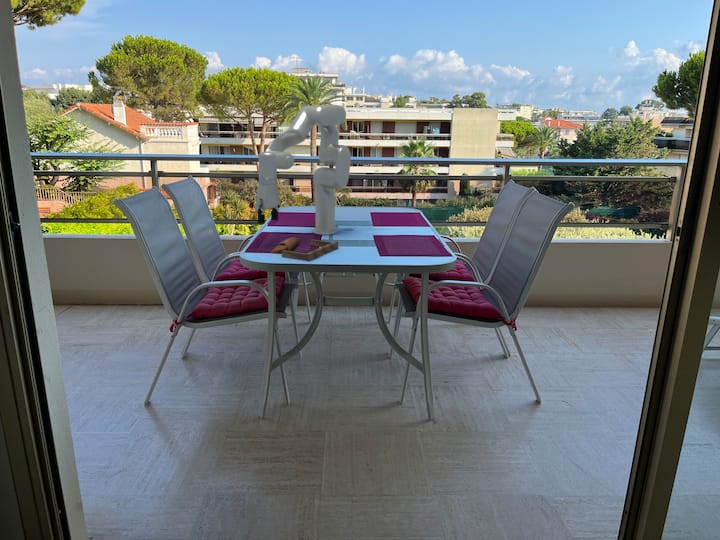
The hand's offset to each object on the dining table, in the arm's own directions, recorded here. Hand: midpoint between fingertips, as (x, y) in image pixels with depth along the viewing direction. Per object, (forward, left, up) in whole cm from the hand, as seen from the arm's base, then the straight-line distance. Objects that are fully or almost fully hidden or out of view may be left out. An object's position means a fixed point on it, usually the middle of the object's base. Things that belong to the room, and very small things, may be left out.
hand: (268, 221), depth 229 cm
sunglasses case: (0, +8, -12) cm, 14 cm away
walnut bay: (-1, +21, -11) cm, 23 cm away
